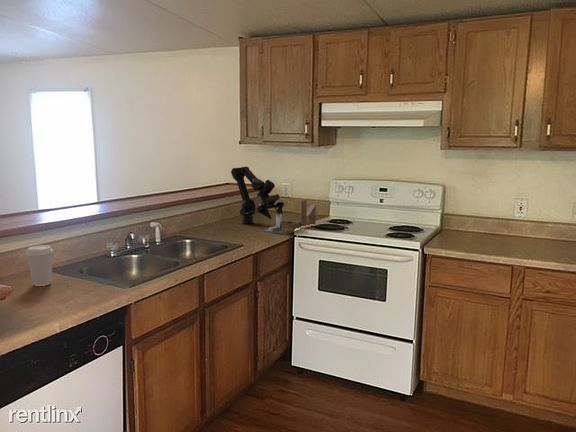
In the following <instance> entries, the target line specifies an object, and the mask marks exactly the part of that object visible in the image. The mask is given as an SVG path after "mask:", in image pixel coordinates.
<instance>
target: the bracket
mask: <svg viewBox="0 0 576 432" xmlns="http://www.w3.org/2000/svg"><path fill="white" fill-rule="evenodd" d="M282 220H283V217H282V214H280V213H277V212H276V213H275V226H270V227H268V228H267V229H268V231H272V232H273V231H279V230H282Z"/></svg>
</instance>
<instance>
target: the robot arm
mask: <svg viewBox="0 0 576 432" xmlns="http://www.w3.org/2000/svg"><path fill="white" fill-rule="evenodd" d="M230 174H231V176H232V178H233V179H234V181H235V182H236V183H237V184H236V185H237V186H238V190H239V193H240V196H241V200H242V203H241V209H240V210H239V215H241V216H242V217H241V219H242V222H240V224H243V225H252V224H255V222H254V217H253V215H255V212H257V213H258V214H260V215H263V216H265V217H266V218H268V219H269V220H271V219H272V216H271V214H270V212H269V210H270V209H274V210H275V212H276V213H280V214H282V218H284V214H283V208H284V206H285V205H286V204H285V202H284V201H279V200H280V198H281V196H280V194H278V193H277V194H274V195H270V194H271V193H272V192H273V190H274V188H275V187H276V185H275V183H274V182H272V181H271V180H270V179H266V180H265V182H264V181H263V180H262V179H260V178H258V177H257V176H256V175H255V174H254V173H253V172H252V170H250V167H249V166H241V167H233V168H231V171H230ZM245 177H246V179H247V180H248V181H249V183H251V188H252V190H253V191H254V192H257V193H256V197H257V198H260V200H261V203H260V204H258V206H256V203H255V200H253V199H251V198H250V195H249V191H248V189H247V185H246V182H245ZM276 201H277V202H276ZM256 207H257V208H256ZM268 209H269V210H268Z"/></svg>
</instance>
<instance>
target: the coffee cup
mask: <svg viewBox="0 0 576 432" xmlns="http://www.w3.org/2000/svg"><path fill="white" fill-rule="evenodd" d="M53 253H54V249H53V248H52V246H50V245H46V244H44V245H43V244H42V245H41V244H40V245H34V246H30V247H28V248H27V250H26V252H25V255H26V256H27V258H28V263H29V264H28V265H29V269H30V275H31V280H32V284H33V283H35V284H43V283H48V282H50V281H52V282H53V278H52V277H53Z"/></svg>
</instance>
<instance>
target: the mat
mask: <svg viewBox="0 0 576 432" xmlns="http://www.w3.org/2000/svg"><path fill="white" fill-rule="evenodd" d="M263 232H265V233H271V234H273V233H274V234H279V235H287V234H291V233H295V232H294V231H290V232H287V233H283V226H282V230H279V231H273V232H272V231H268V228H267V229H263Z"/></svg>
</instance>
